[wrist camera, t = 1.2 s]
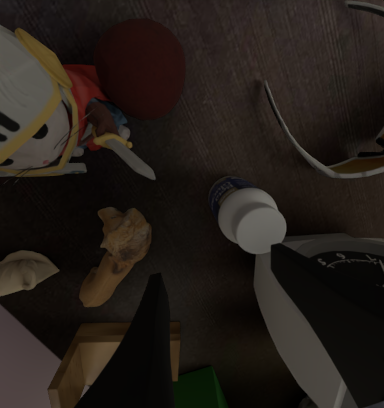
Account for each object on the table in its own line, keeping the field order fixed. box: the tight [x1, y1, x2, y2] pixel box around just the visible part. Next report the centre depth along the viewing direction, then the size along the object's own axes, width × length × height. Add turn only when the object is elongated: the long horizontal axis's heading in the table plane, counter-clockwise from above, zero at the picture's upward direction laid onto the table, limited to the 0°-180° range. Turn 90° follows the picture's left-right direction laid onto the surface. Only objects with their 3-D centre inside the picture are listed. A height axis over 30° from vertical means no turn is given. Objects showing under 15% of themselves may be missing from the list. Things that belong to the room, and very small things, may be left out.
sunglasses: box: [264, 1, 384, 178], centre depth 20 cm, size 14×15×5 cm
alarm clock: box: [253, 233, 384, 408], centre depth 18 cm, size 18×8×20 cm, turn 92°
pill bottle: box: [208, 176, 286, 254], centre depth 20 cm, size 5×5×10 cm
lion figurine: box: [79, 207, 152, 307], centre depth 21 cm, size 15×5×9 cm, turn 155°
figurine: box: [0, 25, 156, 186], centre depth 14 cm, size 13×11×15 cm
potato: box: [93, 18, 185, 120], centre depth 17 cm, size 7×8×6 cm
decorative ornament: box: [0, 250, 60, 296], centre depth 22 cm, size 4×8×5 cm, turn 102°
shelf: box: [48, 322, 180, 408], centre depth 27 cm, size 14×8×8 cm, turn 86°
